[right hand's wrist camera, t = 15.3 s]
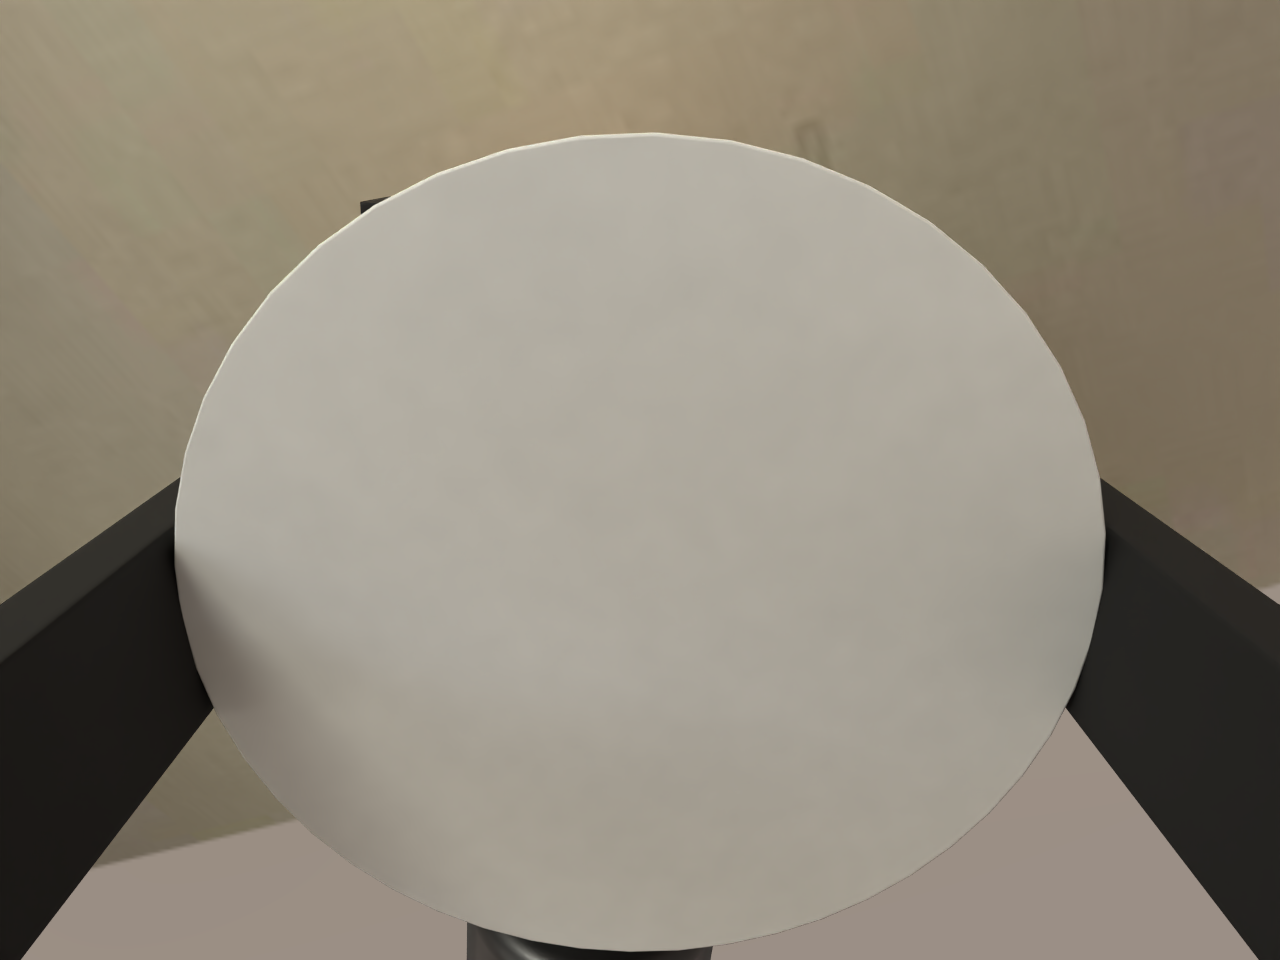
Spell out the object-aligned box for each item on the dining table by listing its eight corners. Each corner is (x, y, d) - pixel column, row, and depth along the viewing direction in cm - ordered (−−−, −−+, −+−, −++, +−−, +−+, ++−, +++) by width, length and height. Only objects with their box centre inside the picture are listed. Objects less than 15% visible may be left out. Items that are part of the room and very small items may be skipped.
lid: (229, 57, 10) (138, 36, 8) (1169, 220, 10) (1274, 234, 9) (249, 813, 14) (194, 906, 12) (909, 892, 15) (945, 990, 13)
